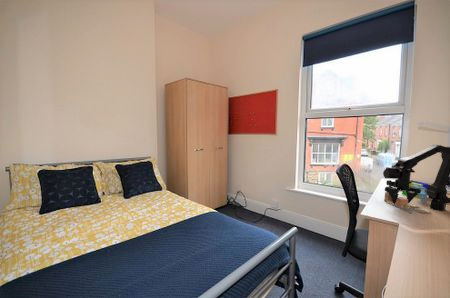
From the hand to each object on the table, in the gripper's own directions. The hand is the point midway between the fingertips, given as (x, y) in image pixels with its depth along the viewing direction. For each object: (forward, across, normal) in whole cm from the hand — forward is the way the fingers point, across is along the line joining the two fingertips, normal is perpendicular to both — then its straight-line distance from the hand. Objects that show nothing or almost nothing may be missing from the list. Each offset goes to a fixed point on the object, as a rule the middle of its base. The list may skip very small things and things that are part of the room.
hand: (400, 203), depth 127 cm
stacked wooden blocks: (+2, 0, -3) cm, 4 cm away
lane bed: (+3, -3, 0) cm, 4 cm away
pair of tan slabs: (+2, -6, +4) cm, 8 cm away
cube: (+1, 0, 0) cm, 1 cm away
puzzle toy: (+4, -32, -22) cm, 39 cm away
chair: (+4, -21, -9) cm, 23 cm away
